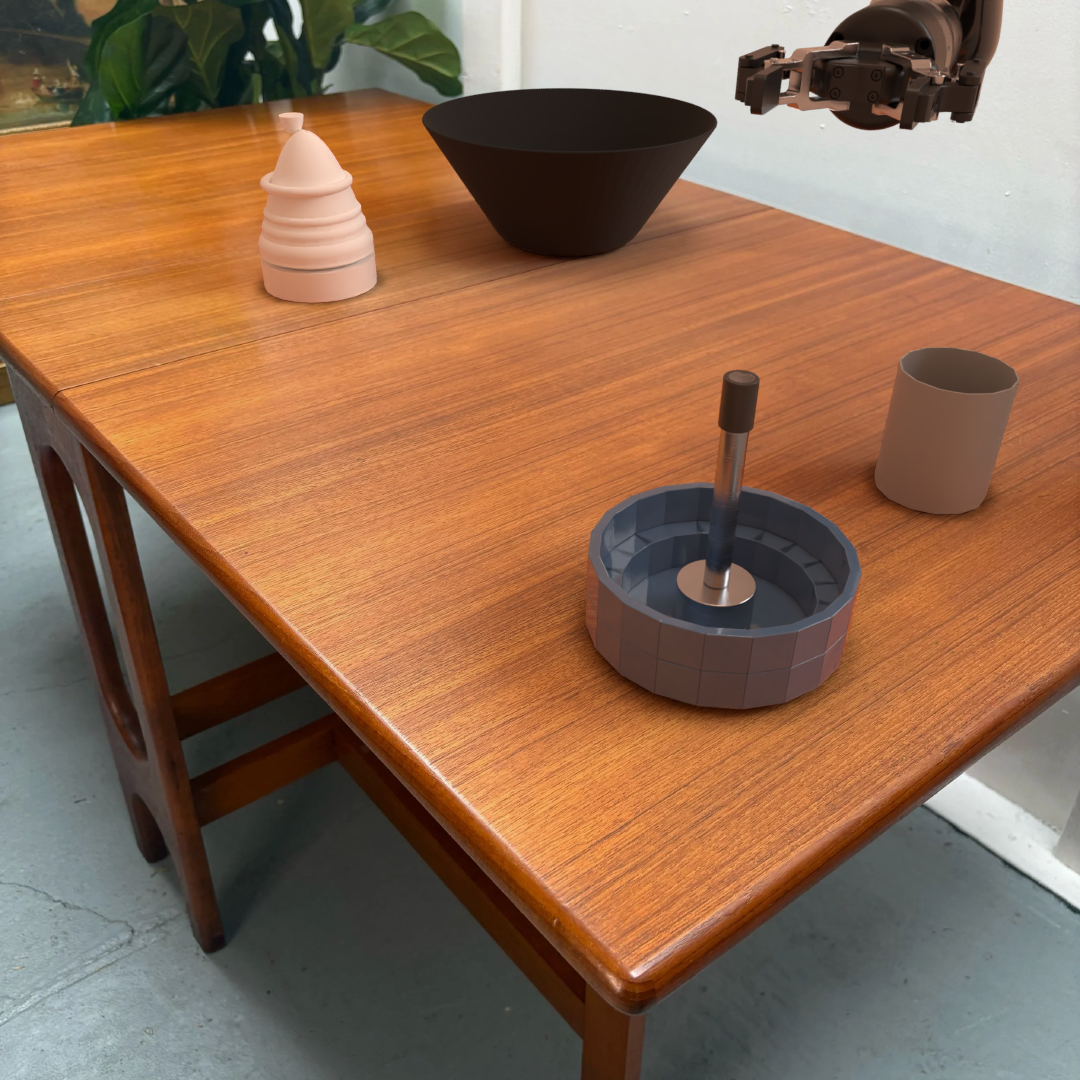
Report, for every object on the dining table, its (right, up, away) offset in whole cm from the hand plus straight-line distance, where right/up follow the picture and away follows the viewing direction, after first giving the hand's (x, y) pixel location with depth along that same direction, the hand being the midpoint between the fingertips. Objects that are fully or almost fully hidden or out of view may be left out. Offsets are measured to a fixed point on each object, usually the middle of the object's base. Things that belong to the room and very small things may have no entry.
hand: (831, 102), depth 57 cm
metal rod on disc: (-5, -30, +8) cm, 31 cm away
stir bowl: (-5, -30, +9) cm, 32 cm away
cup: (+14, -20, +23) cm, 34 cm away
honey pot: (-42, +5, +61) cm, 74 cm away
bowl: (-13, +14, +74) cm, 77 cm away
